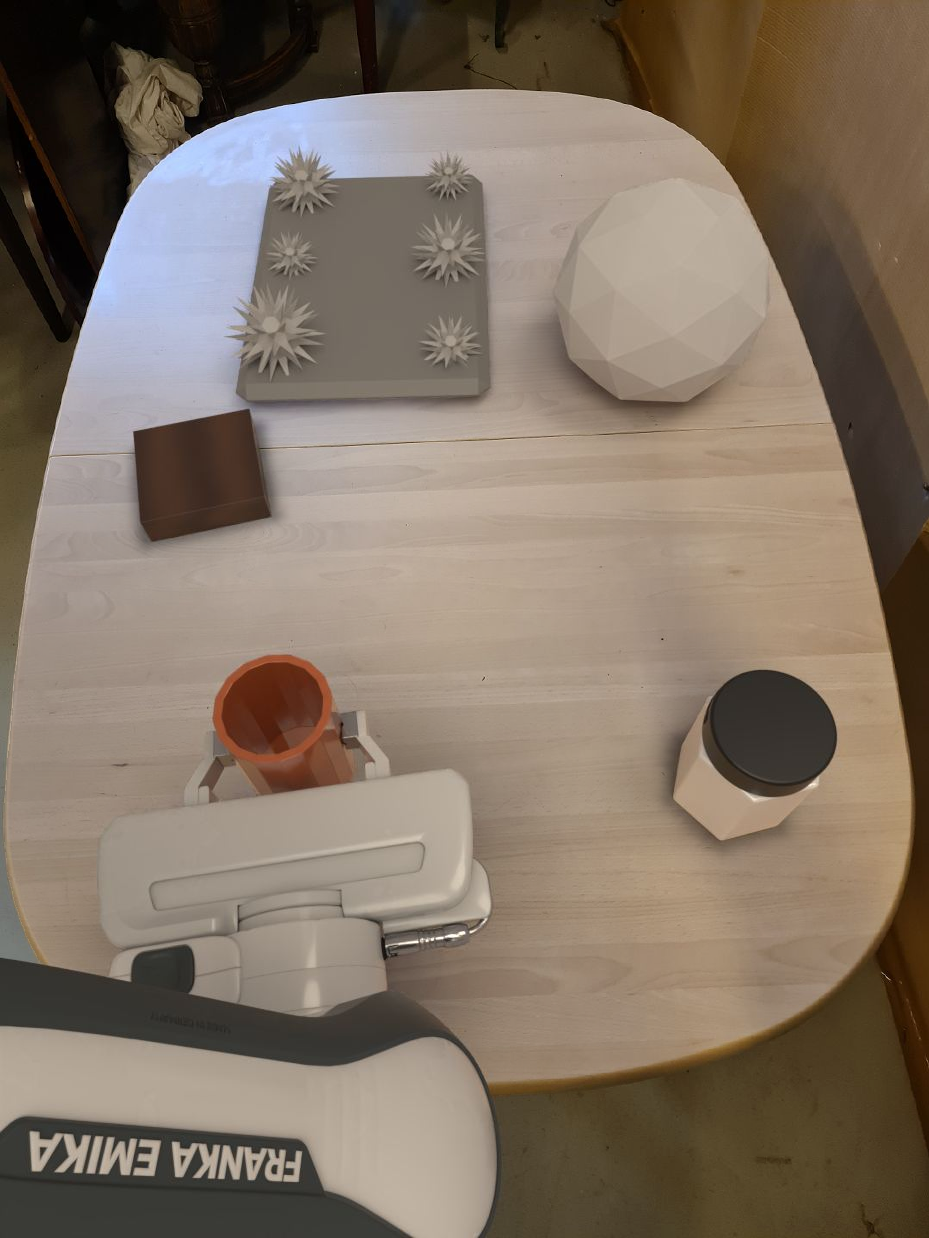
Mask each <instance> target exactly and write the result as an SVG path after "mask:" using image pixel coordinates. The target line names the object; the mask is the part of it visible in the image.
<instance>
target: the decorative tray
mask: <svg viewBox="0 0 929 1238" xmlns="http://www.w3.org/2000/svg"><path fill="white" fill-rule="evenodd" d="M314 149H315V147H313V148H312V150H311V152H310V155H309V156H308V155H306V156H305V160H304V158H303V154H302V151H301V148H300V146H298V151H296V155H295V152H294V151H293V152H292V150H291V149H290V148H288V151H289V155H290V156H289V157H290V160H291V163H290V162H289V161H288V160H287V159H285V158H284V160H285V161H284V160H283V159H282V158H281V157H279V156H278V155H276V157H277V159H278V160H279V162H280V163H281V164H282V165H283V166H282V165H280V164H279V163H277V162H276V161H275V160H274V163H275V165H274V167H275V168H276V170H277V171H279V172H280V174H282V176H284V177H282V176H281V177H279V176H269V178H270V181H272V182H274V183H273V184H272V185H269V188H268V193H267V199H266V204H265V205H266V206H265V211H264V217H263V222H262V230H261V234H260V235H261V236H260V240H259V241H260V242H259V247H258V252H257V253H258V254H257V255H258V256H257V260H256V264H255V265H256V266H255V272H254V278H253V284H252V291H251V297H250V301H249V300H247V302H248V303H247V302H245V301H244V300H242V299H241V298H240V297H238V296H236V298H237V299H238V301H240V303H241V304H242V305H243V306H244V308H245V309H246V310H247V311H248V313H247V312H245V311H243V310H242V309H239V308H238V307H236V306H232V308H233V309H234V310H235V311H237V313H238V314H239V315H240V316H241V317H243V319H245V320H246V325H228V326H227V327H226V329H230V330H233V331H238V332H242V333H241V334H233V335H225V336H223V337H224V338H229V339H235V341H242V342H243V345H242V347H241V348H240V349H239V350H237V351H236V352H235V353H234V354H232V355H231V356H230V358H233V357H237V356H239V355H240V356H239V357H238V358H237V360H238V359H240V364H239V369H238V376H237V381H236V388H235V394H236V395H237V396H238V397H240V398H241V399H242V400H244V401H245V402H246V403H264V402H265V403H266V402H267V403H268V402H269V403H270V402H307V401H308V402H309V401H310V402H311V401H312V402H313V401H314V402H315V401H346V400H347V401H348V400H349V401H350V400H353V401H354V400H390V399H430V398H432V399H433V398H436V399H437V398H438V399H439V398H471V397H472V398H474V397H480V396H482V395H483V394H484V393H485V392H487V391H488V390H490V389H491V359H490V337H489V336H490V335H489V313H488V312H489V311H488V288H487V264H486V263H487V261H486V238H485V236H486V235H485V214H484V213H485V211H484V189H483V185H484V184H483V182H482V181H480V179H478V178H476V176H474V175H473V174H471V173H466V172H467V171H468V170H469V169H470V168H471V167H469V166H470V163H469V164H467V165H465V164H466V162H463V163H462V161H463V158H464V157H463V156H462V157H461V158H460V159H459V155H458V152H456V153H455V155H454V158H453V159H452V161H451V158H450V154H449V151H447V153H446V160H445V159H444V157H443V155H442V152H439V156H440V160H439V162H438V161H437V160H435V159H434V157H431V160H432V161H431V163H432V164H433V165H432V164H429V167H430V168H431V169H432V170H433V171H428V173H425V175H408V176H407V175H405V176H403V175H402V176H371V177H366V176H365V177H336V178H335V177H334V178H329V177H330V176H331V175H332V174H334V173H335V172H336V171H337V169H335V170H332V171H330V169H331V168H332V167H333V165H331V166H329V163H327V164H325V165H323V166H321V167H320V168H318V167H319V164H320V161H321V157H322V154H320V156H319V157H318V153H319V152H318V151H317V152H316V154H315V156H314ZM313 156H314V158H313ZM317 157H318V158H317ZM458 159H459V160H458ZM461 163H462V164H461ZM328 171H329V172H328Z"/></svg>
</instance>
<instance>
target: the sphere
mask: <svg viewBox="0 0 929 1238" xmlns="http://www.w3.org/2000/svg"><path fill="white" fill-rule="evenodd" d="M769 260H770V259H769V251H768V249H767V247H766V245H765V244H764V242H763V240H762V239H761V236H760V235H759V233H758V232H757V230H756V228H755V226H754V225H753V222H752V220H751V219H750V217H749V215H748V214H747V212H746V210H745V208H744V206H743V205H742V203H741V202H740V200H739V198H738V197H736V196H734V195H731V194H728V193H725V192H722V191H720V190H717V189H714V188H711V187H709V186H705V185H703V184H701V183H700V184H699V183H697V182H693V181H691V180H688V179H685V178H683V177H680V176H677V177H672V178H666V179H661V180H657V181H653V182H648V183H644V184H643V183H642V184H638V185H633V186H632V187H631V186H630V187H629V188H626V189H624V190H622V191H619V192H616V193H614V194H613V195H611V197H609V198H608V199H607V200H606V201H605V202H603V203H602V204H601V205H600V206H599V207H597V209H595V210H594V211H593V212H592V213H591V214H589V216H587V217H586V218H585V219H584V220H583V221H581V222H580V223H579V224H577V226H576V228H575V230H574V233H573V236H572V238H571V241H570V243H569V246H568V249H567V252H566V254H565V257H564V260H563V262H562V265H561V267H560V269H559V273H558V276H557V279H556V281H555V284H554V287H553V289H552V291H551V292H552V297H553V301H554V305H555V308H556V312H557V317H558V320H559V324H560V328H561V332H562V337H563V340H564V345H565V348H566V352H567V357H568V359H570V360H571V361H572V363H574V364H575V365H576V366H577V367H578V368H579V369H580V370H582V372H584V373H585V374H586V375H587V376H588V377H589V378H590V379H591V380H593V381H594V382H595V383H596V384H598V385H599V386H600V387H602V388H603V389H605V390H606V391H607V392H608V393H610V394H611V395H613V396H614V397H616V399H618V400H620V401H622V400H625V401H647V402H673V403H674V402H675V403H676V402H677V403H687V402H689V401H690V400H691V399H693V398H694V397H696V396H698V395H699V394H701V393H702V392H703V391H706V389H709V387H711V386H713V385H715V383H717V382H719V381H720V380H721V379H723V378H725V377H726V376H728V375H730V374H731V373H732V372H734V371H736V370H738V369H739V368H740V367H742V366H743V365H744V364H745V362H746V360H747V358H748V356H749V353H750V351H751V349H752V347H753V345H754V343H755V341H756V339H757V336H758V334H759V332H760V331H761V328H762V326H763V325H764V322H765V320H766V317H767V312H768V308H769V305H770V301H771V286H770V285H771V284H770V262H769Z"/></svg>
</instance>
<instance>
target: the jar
mask: <svg viewBox="0 0 929 1238" xmlns="http://www.w3.org/2000/svg"><path fill="white" fill-rule="evenodd" d="M837 743H838V730H837V724H836V721H835V717H834V715H833V712H832V711H831V709H830V707H829V705H828V704H827V703H826V701H825V700H824V698H823V697H822V696H821V695H820V694H819V693H818V692H817V690H816V689H814V688H813V687H812V686H810V685H809V684H808V683H807V682H805V681H803V680H802V679H801V678H798V677H796V676H794V675H792V674H789V673H786V672H783V671H779V670H773V669H752V670H748V671H745V672H741V673H739V674H736V675H734V676H732V677H731V678H729V679H728V680H727V681H726V682H725V683H723V684H722V685H721V686H720V688H719V689H717V691H716V692H715V694H714V695H710V696H708V697H707V699H705V702H704V704H703V706H702V708H701V709H700V711H699V713H698V715H697V717H696V718H695V721H694V722H693V724H692V726H691V727H690V729H689V731H688V733H687V735H686V736H685V738H684V740H683V742H682V744H681V747H680V753H679V759H678V764H677V769H676V776H675V781H674V782H675V783H674V788H673V794H672V799H673V800H674V802H676V804H678V805H679V806H680V807H681V808H682V809H684V811H686V813H688V814H689V815H690V816H691V817H692V818H694V819H695V820H696V821H697V822H698V823H699V824H701V826H702V827H704V828H705V829H706V830H707V831H708V832H710V833H711V834H712V835H713V836H714V837H715V838H716V839H717V840H719V841H721V842H722V841H726V840H730V839H733V838H737V837H742V836H744V835H748V834H753V833H756V832H760V831H763V830H768V829H772V828H775V827H778V826H779V825H780V823H782V822H783V821H784V820H785V819H786V818H787V817H788V816H789V815H790V814H791V813H792V812H794V810H795V809H796V808H797V807H798V806H799V805H801V804H802V803H803V802H804V801H805V800H806V798H808V797H809V796H810V795H811V794H812V793H813V792H814V791H815V790H816V789H817V788H818V787H819V785H820V777H821V774H822V773H824V771H825V770H826V769H827V768H828V767H829V765H830V764H831V762H832V760H833V758H834V756H835V753H836V750H837V745H838V744H837Z"/></svg>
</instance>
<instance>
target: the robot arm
mask: <svg viewBox="0 0 929 1238" xmlns="http://www.w3.org/2000/svg"><path fill="white" fill-rule="evenodd" d="M339 715H340V718H341V722H342V725H343V726H342V728H341V732H342V740H343V743H344V744H345V748H346V750H347V749H352V750H354V749H355V750H356V749H359V750H360V751H361V753H362V754H363V755H364V756H365V758H366V759H367V761H368V762H365V764H364V773H365V774H364V775H365V779H364V780H357V781H353V782H349V783H342V784H335V785H329V786H322V787H315V788H308V789H301V790H294V791H287V792H280V793H274V794H267V795H260V796H258V795H253V796H247V797H240V798H234V799H227V800H219V798H218V797H217V795H216V794H215V793H214V792H213V790H214V788H215V786H216V785H217V783H218V781H219V779H220V777H221V775H222V773H223V771H224V769H225V768H230V767H236V766H237V765H236V764H235V762H234V761H233V759H232V758H231V756H230V755H229V754H228V752H227V751H226V749H225V748H224V747H223V745H222V744H221V742H220V741H219V739H218V736H217V733H216V730H211V731H206V732H205V733H204V758H202V759H201V760H200V762H199V764H198V766H197V767H196V769H195V771H194V772H193V773H192V775H191V776H190V778H189V780H188V782H187V783H186V785H185V787H184V789H183V806H178V807H172V808H171V807H170V808H165V809H158V810H151V811H144V812H137V813H129V814H123V815H119V816H116V817H114V818H113V819H112V820H111V821H110V823H108V824H107V826H106V827H105V829H104V830H103V831H102V833H101V834H100V836H99V840H98V844H97V857H96V859H97V860H96V861H97V862H96V864H97V865H96V883H97V886H96V887H97V898H98V899H97V902H98V913H99V914H98V915H99V920H100V921H99V922H100V926H101V928H102V931H103V933H104V935H105V937H106V938H107V940H108V942H110V943H111V944H112V945H113V946H115V947H116V948H118V949H120V950H121V952H119V953H117V954H116V955H115V956H114V957H113V959H112V961H111V964H110V966H109V972H108V973H109V974H108V976H104V975H99V974H95V973H91V972H90V973H89V972H85V971H80V970H74V969H69V968H64V967H59V966H52V965H48V964H42V963H36V962H31V961H25V960H19V959H12V958H6V957H0V1238H487V1236H488V1234H489V1232H490V1229H491V1227H492V1225H493V1221H494V1219H495V1215H496V1212H497V1207H498V1203H499V1198H500V1191H501V1182H502V1145H501V1136H500V1129H499V1122H498V1117H497V1112H496V1108H495V1104H494V1101H493V1097H492V1094H491V1091H490V1088H489V1086H488V1083H487V1080H486V1078H485V1076H484V1074H483V1072H482V1069H481V1068H480V1066H479V1064H478V1062H477V1060H476V1059H475V1057H474V1056H473V1054H472V1053H471V1052H470V1050H469V1049H468V1047H466V1045H465V1044H464V1043H463V1042H462V1040H460V1039H459V1037H457V1035H455V1033H454V1032H453V1031H452V1030H451V1029H450V1028H449V1027H448V1026H447V1025H446V1024H445V1023H444V1022H443V1021H442V1020H440V1019H439V1018H438V1017H437V1016H436V1015H434V1014H433V1012H432V1013H431V1011H429V1010H428V1009H427V1008H426V1007H424V1006H423V1005H422V1004H421V1003H418V1002H417V1001H415V1000H414V999H413V998H411V997H410V996H408V995H406V994H405V993H403V992H401V991H398V990H392V989H389V990H388V980H387V968H386V967H387V966H386V963H385V962H386V961H387V959H389V958H390V959H391V958H398V957H402V956H407V955H414V954H418V953H421V952H426V951H430V950H431V949H432V950H434V949H436V948H437V949H439V948H440V949H441V948H445V949H452V948H457V947H462V946H465V945H467V944H469V943H470V942H471V939H470V937H473V936H476V935H477V934H479V933H480V932H482V931H483V930H484V929H485V928H486V927H487V925H488V924H489V922H490V920H491V919H492V916H493V915H492V914H493V911H494V899H493V892H492V886H491V880H490V875H489V873H488V871H487V869H486V867H485V866H484V864H483V863H482V862H481V861H480V860H479V859H477V858H476V857H474V826H473V825H474V824H473V810H472V800H471V799H472V797H471V790H470V784H469V781H468V780H467V779H466V778H465V777H464V776H463V775H462V774H461V773H460V772H458V771H457V770H456V769H454V768H452V767H447V768H439V769H432V770H426V771H418V772H411V773H404V774H398V775H393V771H392V766H391V764H390V763H391V762H390V760H389V758H388V757H387V755H386V754H385V753H384V752H383V750H382V749H381V748H380V746H379V745H378V744H377V743H376V742H375V740H374V739H373V738H372V737H371V736H370V729H369V722H368V716H367V712H366V710H365V709H359V710H353V711H348V712H342V713H339ZM470 923H476V924H475V925H473V926H471V927H470V928H469V926H468V924H470Z"/></svg>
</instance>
